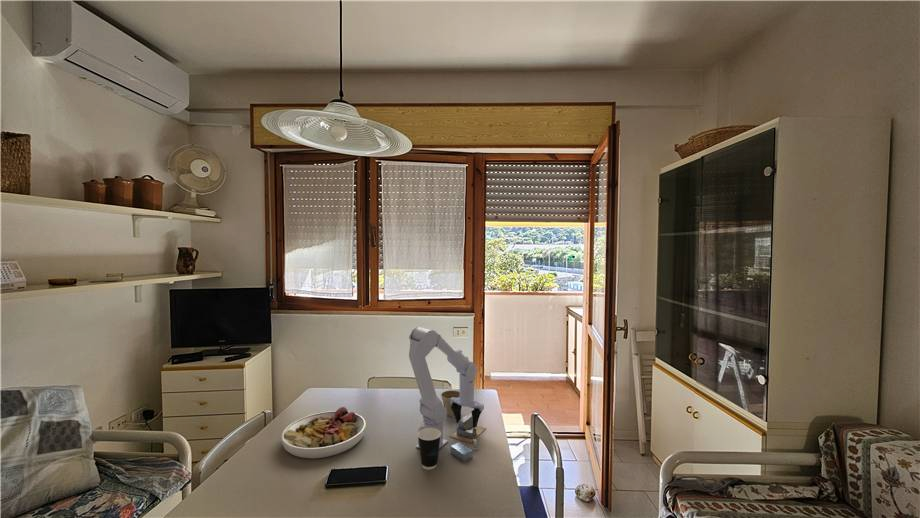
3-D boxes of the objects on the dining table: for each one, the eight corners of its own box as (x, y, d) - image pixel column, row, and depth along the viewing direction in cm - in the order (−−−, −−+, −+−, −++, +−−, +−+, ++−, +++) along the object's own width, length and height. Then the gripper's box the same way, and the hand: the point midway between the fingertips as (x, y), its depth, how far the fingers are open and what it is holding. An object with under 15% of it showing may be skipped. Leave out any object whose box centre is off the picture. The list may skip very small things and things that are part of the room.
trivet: (470, 443, 142) (470, 442, 142) (449, 437, 147) (449, 436, 147) (486, 429, 153) (486, 428, 153) (466, 423, 158) (466, 422, 158)
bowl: (340, 468, 127) (340, 444, 127) (262, 457, 133) (262, 435, 133) (378, 426, 156) (378, 407, 156) (313, 419, 163) (312, 401, 162)
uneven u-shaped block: (470, 423, 157) (470, 411, 157) (485, 427, 154) (485, 415, 153) (456, 435, 148) (456, 422, 147) (471, 439, 144) (471, 426, 144)
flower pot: (453, 420, 161) (453, 400, 160) (436, 414, 166) (436, 395, 166) (466, 412, 168) (466, 393, 168) (449, 407, 174) (449, 388, 174)
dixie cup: (424, 456, 133) (424, 425, 133) (445, 462, 130) (445, 430, 130) (413, 469, 126) (413, 436, 125) (434, 474, 123) (434, 441, 122)
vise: (470, 444, 142) (470, 434, 141) (483, 452, 136) (483, 442, 136) (450, 452, 136) (450, 443, 136) (463, 461, 130) (463, 451, 130)
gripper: (487, 390, 151) (487, 424, 151) (456, 384, 158) (456, 416, 159) (478, 397, 145) (478, 432, 145) (447, 389, 152) (447, 422, 153)
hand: (466, 424), depth 152 cm, fingers open, 7 cm apart
